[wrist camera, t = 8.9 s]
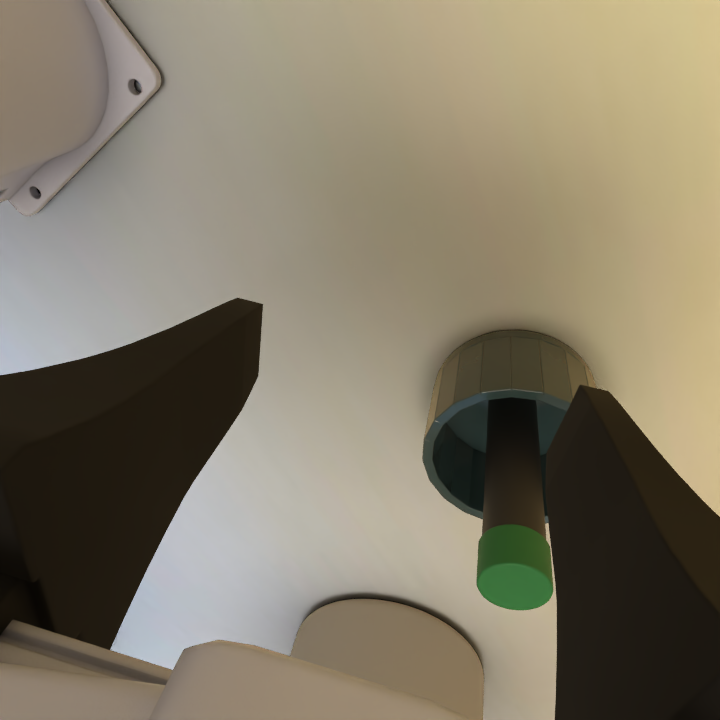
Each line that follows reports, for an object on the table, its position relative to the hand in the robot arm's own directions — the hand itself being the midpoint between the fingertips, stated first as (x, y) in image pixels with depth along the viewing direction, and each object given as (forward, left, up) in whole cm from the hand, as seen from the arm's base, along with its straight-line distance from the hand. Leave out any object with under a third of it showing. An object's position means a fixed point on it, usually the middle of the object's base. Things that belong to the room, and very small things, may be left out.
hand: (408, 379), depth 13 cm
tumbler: (-2, -8, -10) cm, 13 cm away
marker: (-2, -8, -10) cm, 13 cm away
